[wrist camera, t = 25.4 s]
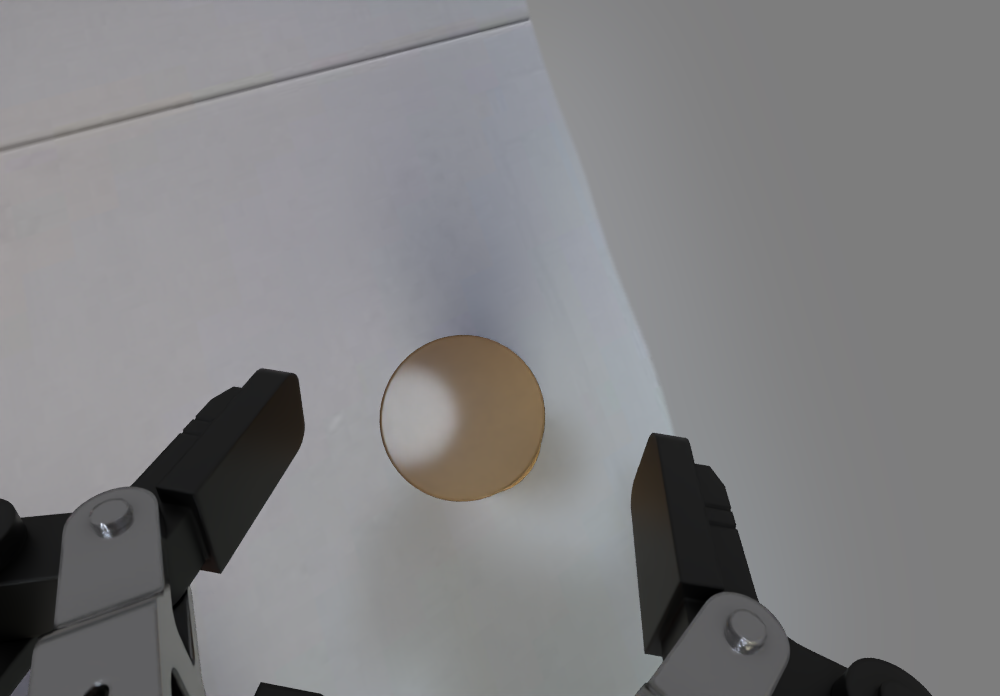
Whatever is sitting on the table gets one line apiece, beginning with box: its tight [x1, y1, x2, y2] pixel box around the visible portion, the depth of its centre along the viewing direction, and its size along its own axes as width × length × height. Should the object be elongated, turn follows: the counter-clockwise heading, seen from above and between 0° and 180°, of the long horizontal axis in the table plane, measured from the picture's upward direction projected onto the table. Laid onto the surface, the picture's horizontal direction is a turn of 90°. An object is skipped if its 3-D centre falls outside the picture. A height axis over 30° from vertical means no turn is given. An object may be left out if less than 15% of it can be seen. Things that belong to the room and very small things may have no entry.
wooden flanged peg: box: [380, 335, 545, 502], centre depth 18 cm, size 5×5×13 cm
